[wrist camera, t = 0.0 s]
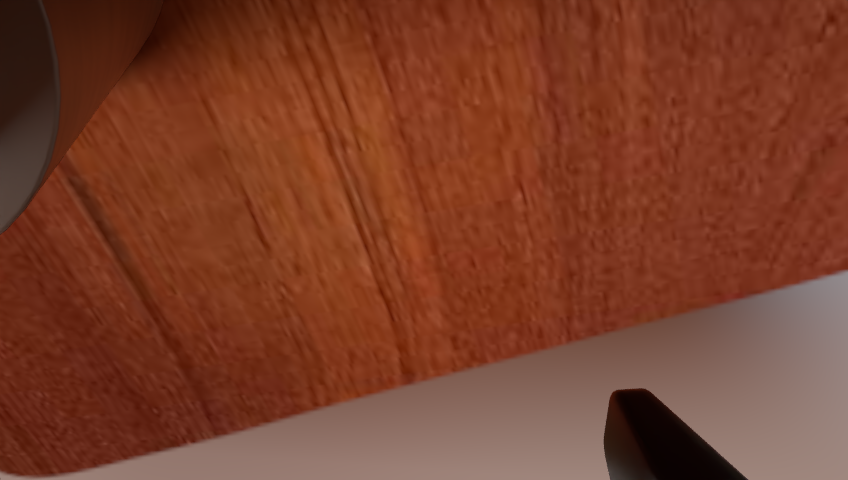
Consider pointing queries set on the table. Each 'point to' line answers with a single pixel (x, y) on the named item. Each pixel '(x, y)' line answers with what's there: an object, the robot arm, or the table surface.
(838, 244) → the table surface
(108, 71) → the metal cylinder
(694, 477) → the robot arm
